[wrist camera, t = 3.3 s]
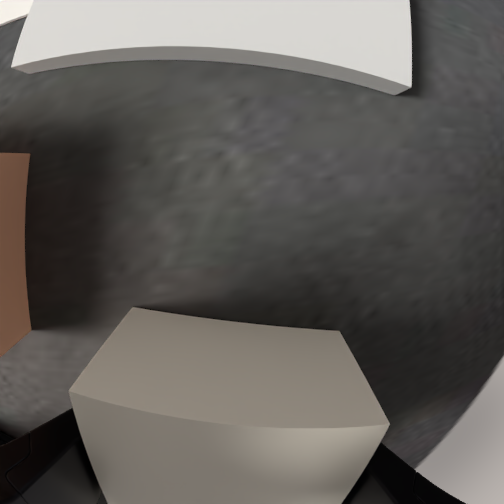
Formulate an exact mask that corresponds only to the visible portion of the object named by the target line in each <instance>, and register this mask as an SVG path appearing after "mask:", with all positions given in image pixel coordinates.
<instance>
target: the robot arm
mask: <svg viewBox="0 0 504 504" xmlns="http://www.w3.org/2000/svg"><path fill="white" fill-rule="evenodd" d="M101 492H102V489H101V487H100V485H99V482H98V480H97V478H96V475H95V473H94V470H93V467H92V465H91V462H90V460H89V457H88V454H87V451H86V448H85V446H84V443H83V440H82V437H81V434H80V430H79V427H78V424H77V421H76V417H75V414H74V410H73V408H71V409H69V410H68V411H66V412H64V413H62V414H61V415H59V416H57V417H55V418H54V419H52V420H50V421H48V422H46V423H45V424H43V425H41V426H39V427H37V428H35V429H34V430H32V431H30V433H29V432H28V433H26V434H24V435H22V436H21V437H19V438H17V439H13V438H11V437H9V436H7V435H5V434H3V433H2V432H0V504H97V502H98V499H99V497H100V494H101ZM341 504H466V503H464V502H462V501H460V500H459V499H457V498H455V497H453V496H452V495H450V494H448V493H446V492H445V491H443V490H442V489H440V488H439V487H437V486H436V485H434V484H433V483H431V482H430V481H429V480H427V479H426V478H425V477H423V476H422V475H421V474H419V473H418V472H416V471H415V470H414V469H413V468H412V467H410V466H409V465H408V464H407V463H405V462H404V461H403V460H402V459H400V458H399V457H398V456H397V455H395V454H394V453H393V452H392V451H391V450H389V449H388V448H387V447H386V446H384V445H383V444H382V443H381V442H380V444H379V445H378V447H377V449H376V451H375V452H374V454H373V456H372V458H371V459H370V461H369V463H368V464H367V466H366V467H365V469H364V471H363V472H362V474H361V475H360V477H359V478H358V480H357V482H356V483H355V485H354V486H353V488H352V489H351V490H350V492H349V493H348V495H347V496H346V498H345V499H344V501H343V502H342V503H341Z"/></svg>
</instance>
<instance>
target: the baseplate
mask: <svg viewBox="0 0 504 504" xmlns="http://www.w3.org/2000/svg"><path fill="white" fill-rule="evenodd" d="M139 60H196V61H215V62H228V63H239V64H249V65H257V66H265V67H273V68H279V69H286V70H292V71H298V72H303V73H308V74H313V75H318V76H323V77H328V78H332V79H337V80H341V81H345V82H349V83H353V84H357V85H361V86H364V87H368V88H371V89H375V90H378V91H382V92H385V93H388V94H391V95H397V94H399V93H401V92H403V91H405V90H407V89H409V88H411V86H412V37H411V16H410V2H409V0H34V1H33V3H32V6H31V8H30V11H29V13H28V16H27V19H26V21H25V24H24V27H23V30H22V33H21V36H20V39H19V42H18V45H17V48H16V51H15V55H14V58H13V62H12V66H11V68H14V69H17V70H20V71H22V72H25V73H28V74H32V73H37V72H42V71H47V70H53V69H59V68H65V67H72V66H79V65H87V64H96V63H107V62H120V61H139Z"/></svg>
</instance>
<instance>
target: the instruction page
mask: <svg viewBox="0 0 504 504" xmlns="http://www.w3.org/2000/svg"><path fill="white" fill-rule="evenodd" d="M33 1H34V0H0V26H3V25H5V24H8V23H10V22H13V21H16V20H18V19H21V18H24V17H27V16H28V13H29V11H30V8H31V6H32V3H33Z"/></svg>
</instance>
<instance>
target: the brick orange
mask: <svg viewBox="0 0 504 504" xmlns="http://www.w3.org/2000/svg"><path fill="white" fill-rule="evenodd" d="M29 160H30V154H27V153H0V357H1V356H3V355H4V354H5V353H6V352H7V351H8V350H9V349H10V348H12V347H13V346H14V345H15V344H16V343H17V342H18V341H20V340H21V339H22V338H23V337H24V336H25V335H27V334H28V333H29V332H30V331H31V323H30V315H29V306H28V297H27V285H26V268H25V206H26V190H27V178H28V168H29Z"/></svg>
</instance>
